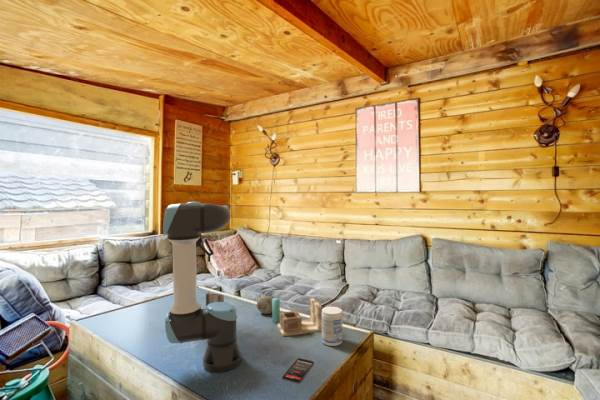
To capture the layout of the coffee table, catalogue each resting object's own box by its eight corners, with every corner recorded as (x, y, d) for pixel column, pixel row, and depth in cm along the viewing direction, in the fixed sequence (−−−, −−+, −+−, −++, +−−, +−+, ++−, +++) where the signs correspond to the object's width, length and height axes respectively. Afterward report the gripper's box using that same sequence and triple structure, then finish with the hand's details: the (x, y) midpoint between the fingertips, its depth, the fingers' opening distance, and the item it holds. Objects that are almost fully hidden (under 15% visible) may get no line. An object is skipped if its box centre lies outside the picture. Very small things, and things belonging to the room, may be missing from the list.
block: (301, 329, 149) (301, 317, 149) (283, 332, 147) (283, 319, 147) (296, 322, 158) (296, 310, 158) (279, 324, 155) (279, 312, 155)
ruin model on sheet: (205, 306, 185) (205, 290, 185) (208, 305, 188) (208, 289, 187) (220, 309, 181) (220, 293, 180) (223, 307, 183) (223, 291, 183)
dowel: (280, 322, 160) (280, 300, 160) (273, 323, 159) (273, 301, 159) (279, 319, 164) (278, 297, 164) (271, 320, 163) (271, 298, 163)
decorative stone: (277, 312, 174) (277, 294, 174) (269, 317, 167) (269, 299, 167) (263, 309, 179) (262, 292, 179) (254, 314, 172) (254, 296, 171)
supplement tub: (337, 349, 133) (337, 315, 133) (318, 343, 138) (317, 311, 137) (345, 339, 141) (345, 308, 141) (326, 335, 146) (326, 304, 146)
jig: (322, 330, 150) (321, 306, 150) (282, 336, 145) (282, 311, 144) (313, 320, 163) (313, 298, 162) (277, 325, 157) (276, 302, 157)
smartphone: (281, 378, 112) (298, 357, 125) (281, 380, 112) (298, 359, 125) (299, 383, 109) (314, 361, 123) (299, 385, 109) (314, 363, 123)
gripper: (217, 228, 172) (217, 265, 173) (170, 230, 165) (170, 269, 166) (217, 229, 165) (218, 268, 166) (168, 231, 158) (169, 272, 158)
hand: (194, 268), depth 166 cm, fingers open, 13 cm apart
